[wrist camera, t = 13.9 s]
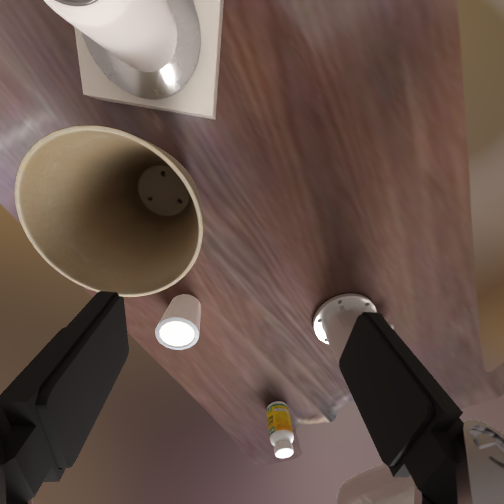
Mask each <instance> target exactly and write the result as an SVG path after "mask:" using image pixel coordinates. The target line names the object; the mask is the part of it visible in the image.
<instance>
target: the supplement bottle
mask: <svg viewBox="0 0 504 504" xmlns="http://www.w3.org/2000/svg"><path fill="white" fill-rule="evenodd" d="M267 417H268V426H269V435H270V441H271V443H272V444H273V445H274V451H275V456H276V457H278V458H288V457H290V456H291V455H293V452H294V451H293V445H292V442H293V440H294V435H293V430H292V425H291V420H290V415H289V410H288V406H287V405H286V404H285V403H284V402H281V401H276V402H272V403H271V404H269V405H268V407H267Z"/></svg>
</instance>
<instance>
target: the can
mask: <svg viewBox="0 0 504 504" xmlns="http://www.w3.org/2000/svg"><path fill="white" fill-rule="evenodd" d="M44 1H45V3H46V4H47V5H48V6H50V7H51V8H52V9H53V10H54V11H55V12H56V13H57V14H59V15H60V16H61V17H62V18H64V19H65V20H66V21H68V22H69V23H70V24H72V25H73V26H74V27H76V28H77V29H78V30H80V31H81V32H83V33H84V34H85V35H87V36H88V37H90V38H91V39H92V40H94V41H95V42H96V43H98V44H99V45H101V46H102V47H103V48H105V49H106V50H108V51H109V52H110V53H112V54H113V55H115V56H116V57H117V58H119V59H120V60H122V61H123V62H125V63H126V64H128V65H129V66H131V67H132V68H134V69H136V70H139V71H143V72H155V71H158V70H160V69H162V68H164V67H165V66H166V65H167V64H168V63H169V62H170V60H171V59H172V57H173V55H174V52H175V49H176V44H177V29H176V23H175V20H174V16H173V14H172V11H171V9H170V6H169V4H168V2H167V0H44Z"/></svg>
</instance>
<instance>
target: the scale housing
mask: <svg viewBox="0 0 504 504" xmlns="http://www.w3.org/2000/svg"><path fill="white" fill-rule="evenodd" d="M193 2H194V5H195V8H196V12H197V15H198V19H199V24H200V30H201V52H200V58H199V62H198V65H197V68H196V71H195V73H194V75H193V77H192V78H191V80H190V81H189V83H188V84H187V85H186V86H185V87H184V88H183V89H182V90H181V91H180V92H178V93H177V94H175V95H173V96H171V97H168V98H165V99H160V100H150V99H144V98H140V97H137V96H135V95H132V94H130V93H128V92H126V91H124V90H122V89H121V88H120V87H118V86H117V85H115V84H114V83H113V82H112V81H111V80H110V79H108V77H107V76H106V75H105V74H104V73H103V72H102V71H101V69H100V68H99V67H98V66H97V64H96V63H95V61H94V59H93V58H92V56H91V54H90V52H89V50H88V48H87V46H86V43H85V41H84V38H83V35H82V32H81V31H80V30H78V29H77V28H76V27H74V29H75V36H76V43H77V51H78V59H79V66H80V74H81V82H82V89H83V95H87V96H90V97H93V98H96V99H100V100H103V101H109V102H115V103H121V104H127V105H133V106H139V107H144V108H150V109H156V110H162V111H168V112H174V113H180V114H185V115H191V116H197V117H203V118H209V119H215V118H216V104H217V90H218V75H219V61H220V47H221V33H222V19H223V5H224V0H193Z"/></svg>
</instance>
